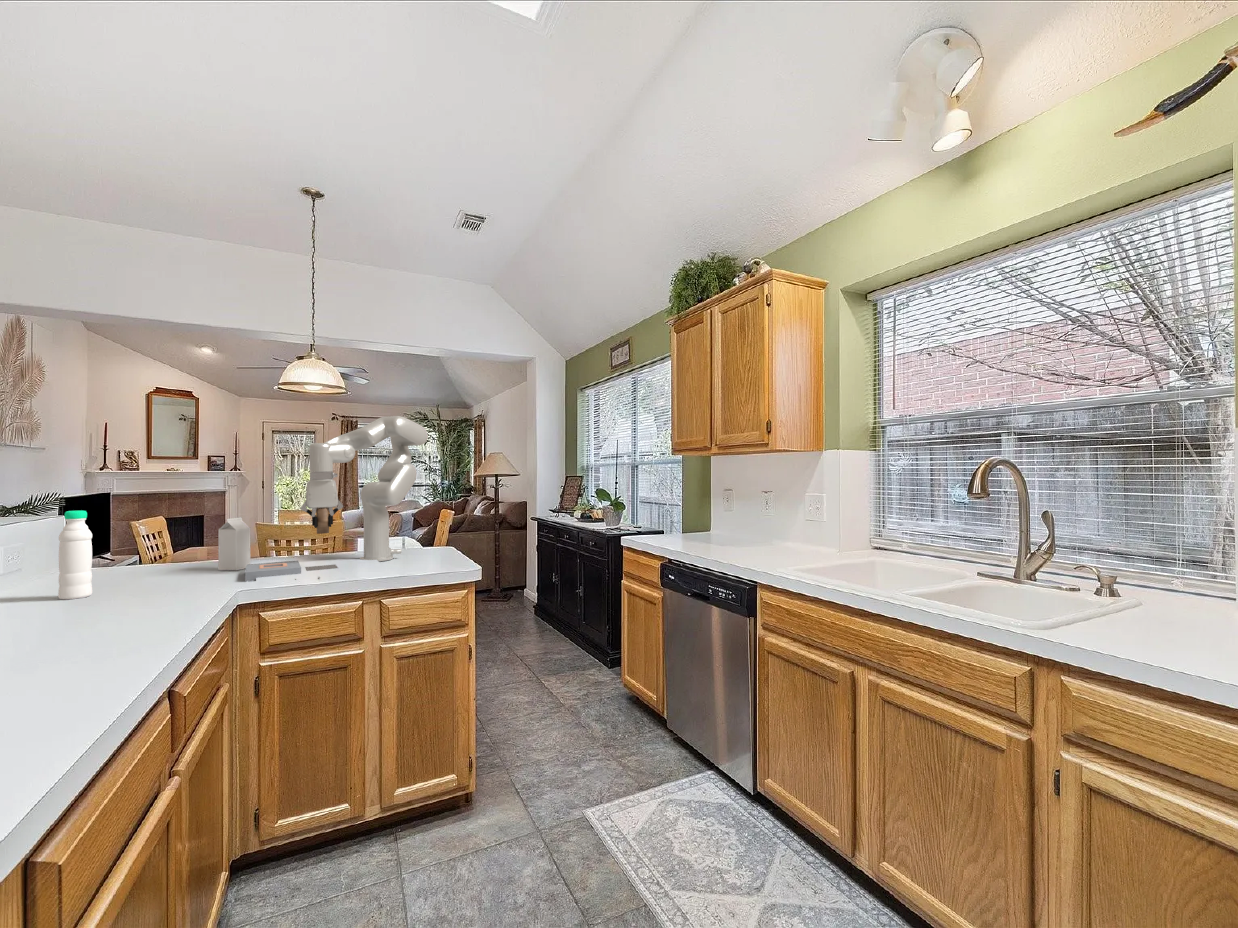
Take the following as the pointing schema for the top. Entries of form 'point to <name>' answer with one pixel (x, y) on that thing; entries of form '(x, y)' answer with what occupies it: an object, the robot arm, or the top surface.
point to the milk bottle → (75, 557)
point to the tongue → (321, 567)
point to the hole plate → (271, 569)
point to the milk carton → (233, 545)
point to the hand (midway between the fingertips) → (322, 526)
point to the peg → (322, 520)
